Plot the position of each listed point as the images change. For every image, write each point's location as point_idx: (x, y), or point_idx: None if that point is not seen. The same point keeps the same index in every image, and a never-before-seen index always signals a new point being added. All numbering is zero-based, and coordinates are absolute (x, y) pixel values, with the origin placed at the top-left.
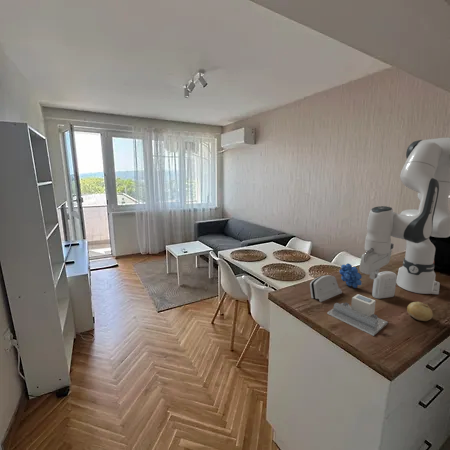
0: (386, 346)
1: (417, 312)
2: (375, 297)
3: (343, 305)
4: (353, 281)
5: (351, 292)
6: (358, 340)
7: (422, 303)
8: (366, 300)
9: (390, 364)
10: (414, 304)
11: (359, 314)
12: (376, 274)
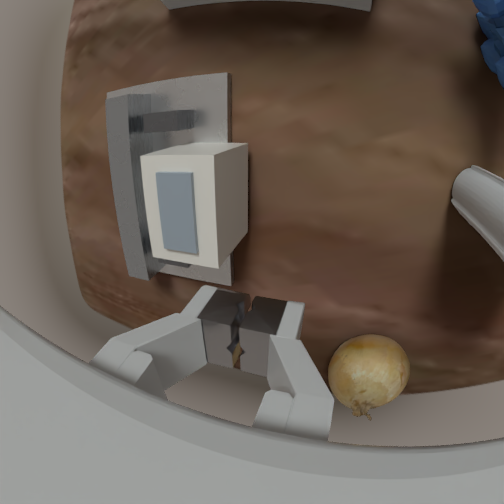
0: (126, 293)
1: (329, 377)
2: (453, 187)
3: (127, 131)
4: (502, 43)
5: (425, 53)
6: (89, 236)
7: (363, 407)
8: (165, 234)
9: (93, 304)
10: (356, 384)
11: (123, 217)
12: (250, 372)
